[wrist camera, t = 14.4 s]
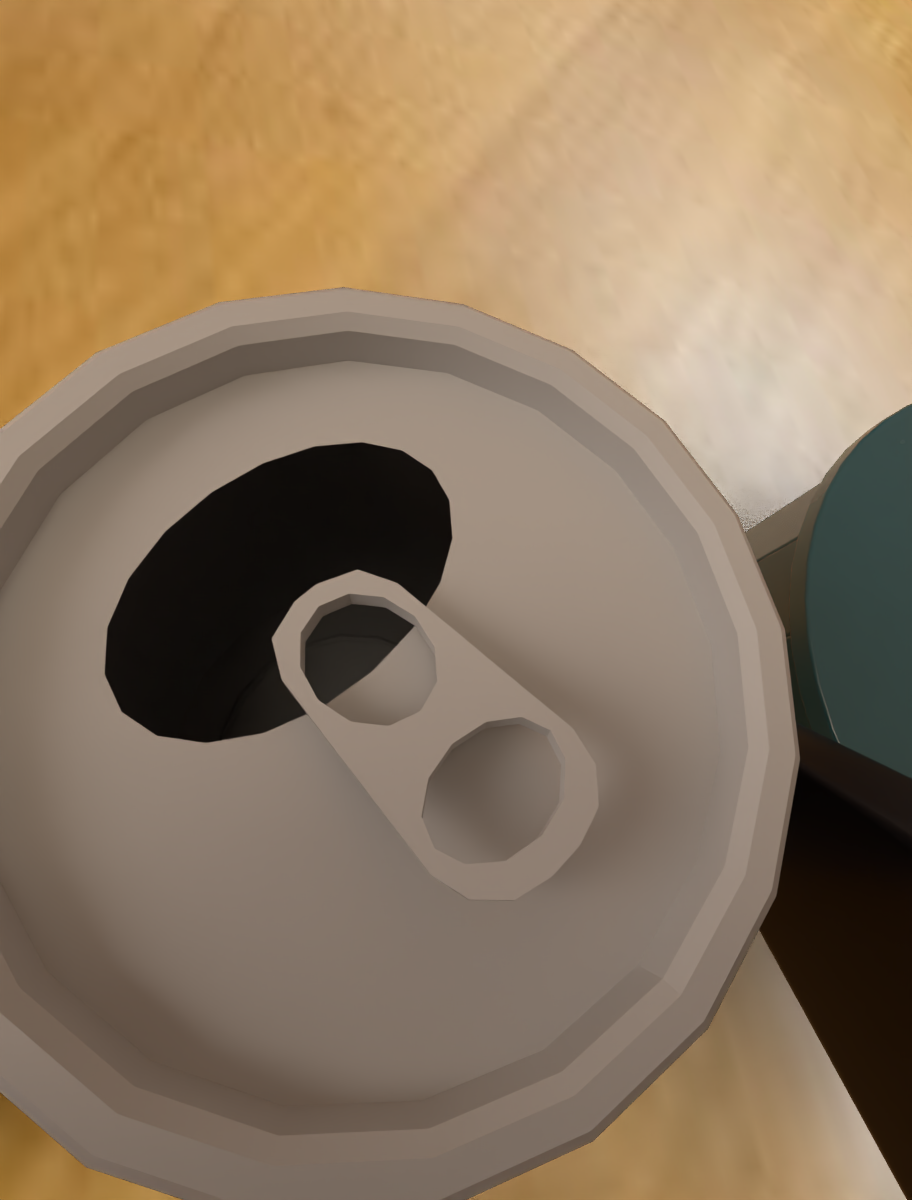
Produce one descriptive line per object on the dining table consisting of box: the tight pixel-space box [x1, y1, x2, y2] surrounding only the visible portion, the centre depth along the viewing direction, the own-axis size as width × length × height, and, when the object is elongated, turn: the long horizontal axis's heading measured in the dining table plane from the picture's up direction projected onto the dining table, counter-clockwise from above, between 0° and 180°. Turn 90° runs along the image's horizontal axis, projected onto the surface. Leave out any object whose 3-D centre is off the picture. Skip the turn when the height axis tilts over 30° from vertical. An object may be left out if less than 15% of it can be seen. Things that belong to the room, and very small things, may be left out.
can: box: [0, 287, 800, 1200], centre depth 10 cm, size 8×8×12 cm
